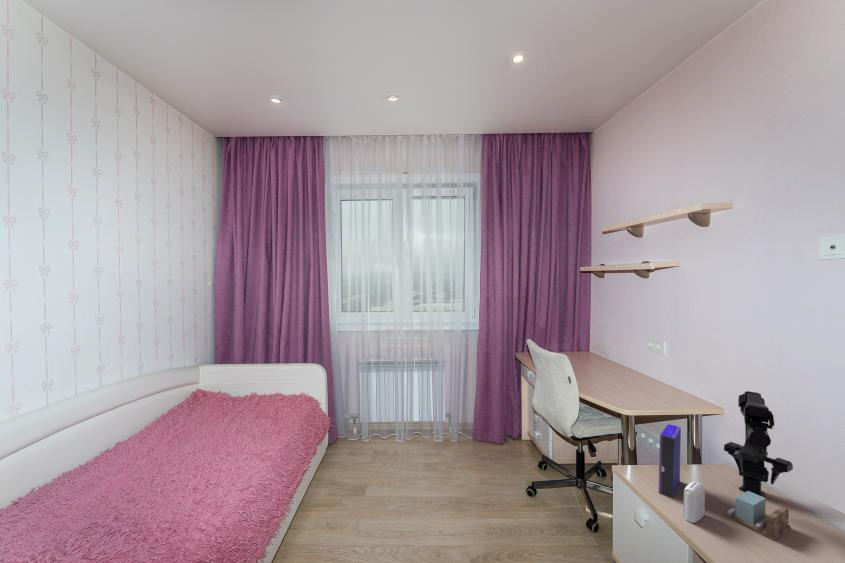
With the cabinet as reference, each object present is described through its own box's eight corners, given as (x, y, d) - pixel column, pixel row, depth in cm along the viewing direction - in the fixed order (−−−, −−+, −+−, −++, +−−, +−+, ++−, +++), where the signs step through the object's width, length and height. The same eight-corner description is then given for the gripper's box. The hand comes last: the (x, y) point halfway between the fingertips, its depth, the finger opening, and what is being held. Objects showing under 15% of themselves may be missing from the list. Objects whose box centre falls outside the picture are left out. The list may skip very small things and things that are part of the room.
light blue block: (748, 509, 133) (748, 490, 133) (765, 516, 129) (765, 498, 129) (735, 516, 128) (735, 497, 128) (753, 525, 124) (753, 505, 124)
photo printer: (692, 509, 134) (693, 477, 134) (706, 515, 130) (706, 482, 130) (681, 518, 128) (682, 484, 128) (695, 525, 124) (696, 490, 125)
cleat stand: (740, 505, 136) (740, 488, 137) (790, 528, 124) (790, 508, 124) (723, 515, 130) (723, 497, 130) (773, 540, 118) (774, 520, 118)
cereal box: (666, 477, 156) (667, 423, 156) (679, 481, 153) (680, 427, 153) (658, 493, 144) (659, 435, 144) (672, 498, 140) (673, 438, 141)
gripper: (717, 432, 140) (716, 470, 139) (781, 452, 123) (780, 496, 123) (730, 427, 145) (730, 465, 145) (793, 446, 128) (792, 489, 128)
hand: (756, 478), depth 135 cm, fingers open, 9 cm apart
